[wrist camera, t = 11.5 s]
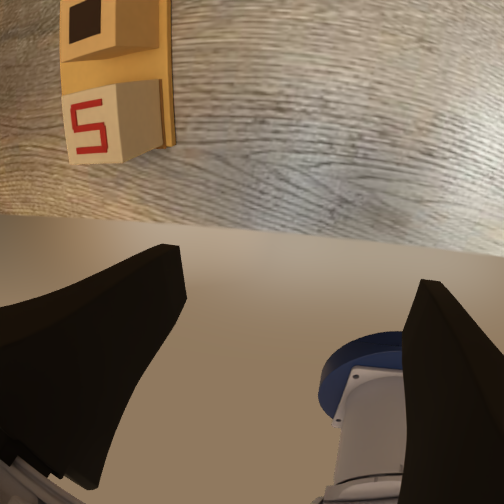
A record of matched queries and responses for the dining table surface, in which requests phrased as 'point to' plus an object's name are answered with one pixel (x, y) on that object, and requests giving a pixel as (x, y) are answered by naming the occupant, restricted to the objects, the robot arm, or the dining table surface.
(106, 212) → the dining table surface
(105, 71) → the yellow wooden block holder
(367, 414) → the robot arm
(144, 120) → the letter s
